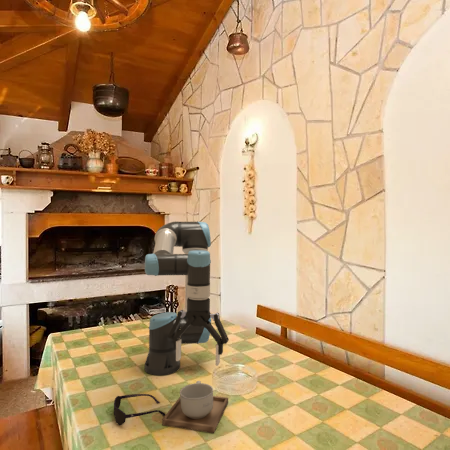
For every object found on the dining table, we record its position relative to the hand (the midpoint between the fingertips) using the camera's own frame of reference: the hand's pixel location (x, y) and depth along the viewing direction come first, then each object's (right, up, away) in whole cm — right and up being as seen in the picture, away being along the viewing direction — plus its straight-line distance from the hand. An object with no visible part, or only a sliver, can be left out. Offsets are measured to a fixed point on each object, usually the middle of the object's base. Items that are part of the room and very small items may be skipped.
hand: (197, 361), depth 116 cm
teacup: (0, -17, 0) cm, 17 cm away
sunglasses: (-19, -17, -1) cm, 26 cm away
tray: (0, -17, 0) cm, 17 cm away
